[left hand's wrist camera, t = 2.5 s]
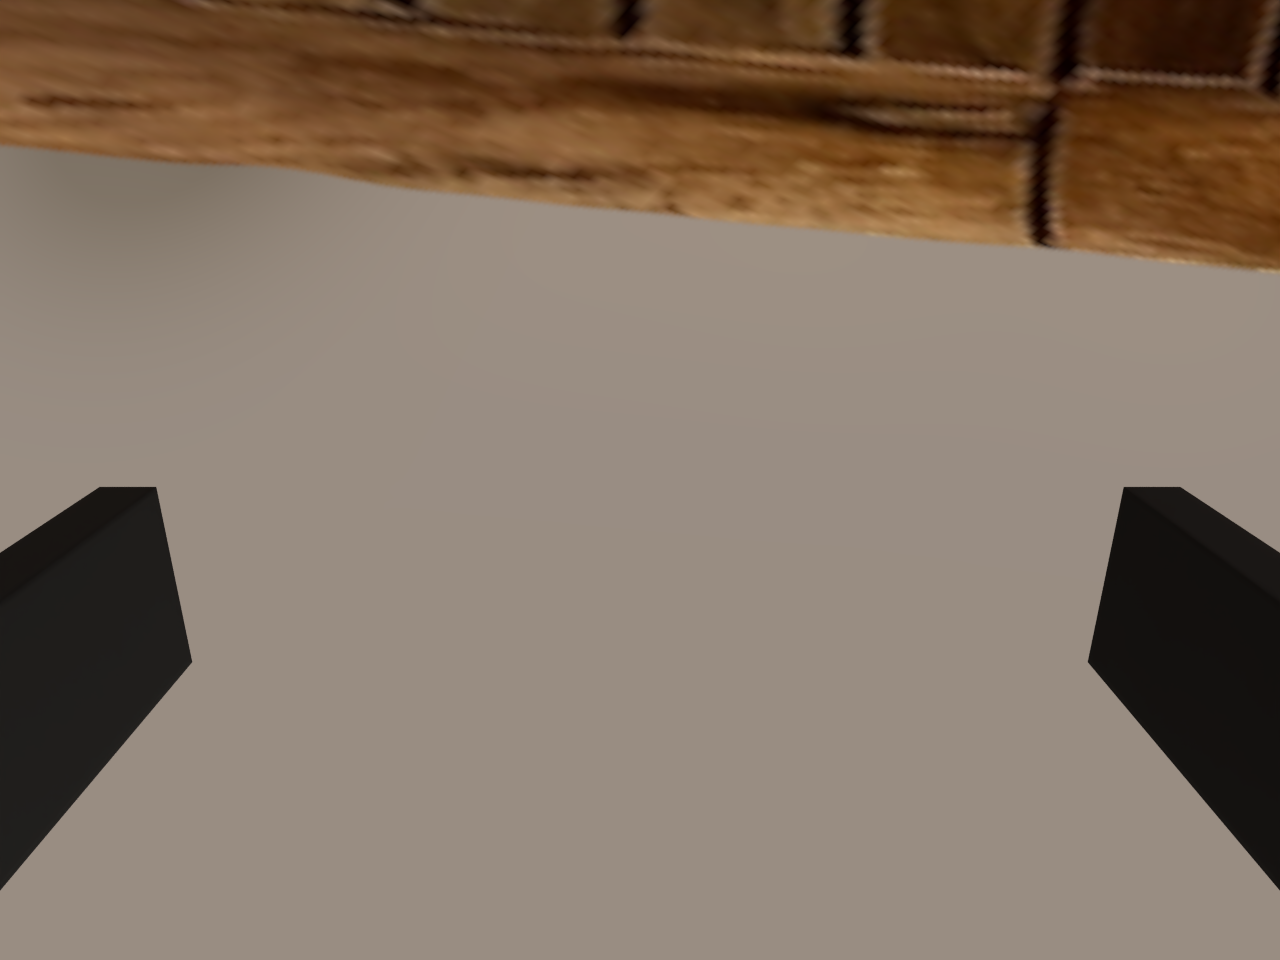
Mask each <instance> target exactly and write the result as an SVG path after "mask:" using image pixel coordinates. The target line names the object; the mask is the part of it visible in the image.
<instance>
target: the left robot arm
mask: <svg viewBox="0 0 1280 960" xmlns="http://www.w3.org/2000/svg"><path fill="white" fill-rule="evenodd" d="M191 663H192V659H191V654H190V649H189V644H188V639H187V635H186V630H185V625H184V620H183V615H182V610H181V605H180V601H179V596H178V591H177V586H176V581H175V576H174V571H173V567H172V562H171V557H170V552H169V547H168V542H167V537H166V532H165V528H164V523H163V518H162V513H161V508H160V503H159V499H158V494H157V489H156V487H99V488H97V489H96V490H94V491H93V492H91V493H90V494H88V495H87V496H85V497H84V498H82V499H81V500H79V501H78V502H76V503H75V504H73V505H72V506H70V507H69V508H67V509H66V510H64V511H63V512H61V513H60V514H58V515H57V516H55V517H54V518H52V519H51V520H49V521H48V522H46V523H45V524H43V525H42V526H40V527H39V528H37V529H36V530H34V531H32V532H31V533H29V534H28V535H26V536H25V537H24V538H22V539H20V540H19V541H17V542H16V543H14V544H13V545H11V546H10V547H8V548H7V549H5V550H4V551H2V552H1V553H0V890H1V889H2V888H3V886H4V885H5V884H6V883H7V882H8V880H9V879H10V878H11V877H12V876H13V874H14V873H15V872H16V871H17V870H18V869H19V867H20V866H21V865H22V864H23V863H24V861H25V860H26V859H27V858H28V857H29V855H30V854H31V853H32V852H33V851H34V849H35V848H36V847H37V846H38V845H39V844H40V842H41V841H42V840H43V839H44V838H45V836H46V835H47V834H48V833H49V832H50V830H51V829H52V828H53V827H54V826H55V825H56V823H57V822H58V821H59V820H60V819H61V817H62V816H63V815H64V814H65V813H66V811H67V810H68V809H69V808H70V807H71V805H72V804H73V803H74V802H75V801H76V800H77V798H78V797H79V796H80V795H81V794H82V792H83V791H84V790H85V789H86V788H87V787H88V785H89V784H90V783H91V782H92V781H93V779H94V778H95V777H96V776H97V775H98V773H99V772H100V771H101V770H102V769H103V767H104V766H105V765H106V764H107V763H108V762H109V760H110V759H111V758H112V757H113V756H114V754H115V753H116V752H117V751H118V750H119V748H120V747H121V746H122V745H123V744H124V743H125V741H126V740H127V739H128V738H129V737H130V735H131V734H132V733H133V732H134V731H135V729H136V728H137V727H138V726H139V725H140V723H141V722H142V721H143V720H144V719H145V717H146V716H147V715H148V714H149V713H150V712H151V710H152V709H153V708H154V707H155V706H156V704H157V703H158V702H159V701H160V700H161V699H162V697H163V696H164V695H165V694H166V693H167V691H168V690H169V689H170V688H171V687H172V685H173V684H174V683H175V682H176V681H177V680H178V678H179V677H180V676H181V675H182V674H183V672H184V671H185V670H186V669H187V668H188V666H189V665H190V664H191ZM1088 663H1089V664H1090V665H1091V666H1092V668H1093V669H1094V670H1095V671H1096V672H1097V674H1098V675H1099V676H1100V677H1101V678H1102V680H1103V681H1104V682H1105V683H1106V684H1107V685H1108V687H1109V688H1110V689H1111V690H1112V691H1113V693H1114V694H1115V695H1116V696H1117V697H1118V699H1119V700H1120V701H1121V702H1122V703H1123V704H1124V706H1125V707H1126V708H1127V709H1128V710H1129V712H1130V713H1131V714H1132V715H1133V716H1134V718H1135V719H1136V720H1137V721H1138V722H1139V723H1140V725H1141V726H1142V727H1143V728H1144V729H1145V731H1146V732H1147V733H1148V734H1149V735H1150V737H1151V738H1152V739H1153V740H1154V741H1155V742H1156V744H1157V745H1158V746H1159V747H1160V748H1161V750H1162V751H1163V752H1164V753H1165V754H1166V756H1167V757H1168V758H1169V759H1170V760H1171V762H1172V763H1173V764H1174V765H1175V766H1176V767H1177V769H1178V770H1179V771H1180V772H1181V773H1182V775H1183V776H1184V777H1185V778H1186V779H1187V781H1188V782H1189V783H1190V784H1191V785H1192V787H1193V788H1194V789H1195V790H1196V791H1197V792H1198V794H1199V795H1200V796H1201V797H1202V798H1203V800H1204V801H1205V802H1206V803H1207V804H1208V806H1209V807H1210V808H1211V809H1212V810H1213V811H1214V813H1215V814H1216V815H1217V816H1218V817H1219V819H1220V820H1221V821H1222V822H1223V823H1224V825H1225V826H1226V827H1227V828H1228V829H1229V830H1230V832H1231V833H1232V834H1233V835H1234V836H1235V838H1236V839H1237V840H1238V841H1239V842H1240V844H1241V845H1242V846H1243V847H1244V848H1245V850H1246V851H1247V852H1248V853H1249V854H1250V855H1251V857H1252V858H1253V859H1254V860H1255V861H1256V863H1257V864H1258V865H1259V866H1260V867H1261V869H1262V870H1263V871H1264V872H1265V873H1266V874H1267V876H1268V877H1269V878H1270V879H1271V880H1272V882H1273V883H1274V884H1275V885H1276V886H1277V888H1278V889H1279V890H1280V553H1279V552H1278V551H1276V550H1275V549H1273V548H1272V547H1270V546H1269V545H1267V544H1266V543H1264V542H1263V541H1261V540H1260V539H1258V538H1257V537H1255V536H1254V535H1252V534H1250V533H1249V532H1247V531H1246V530H1244V529H1243V528H1241V527H1240V526H1238V525H1237V524H1235V523H1234V522H1232V521H1231V520H1229V519H1228V518H1226V517H1225V516H1223V515H1222V514H1220V513H1219V512H1217V511H1216V510H1214V509H1213V508H1211V507H1210V506H1208V505H1207V504H1205V503H1204V502H1202V501H1201V500H1199V499H1198V498H1196V497H1195V496H1193V495H1192V494H1190V493H1188V492H1187V491H1185V490H1184V489H1182V488H1181V487H1124V489H1123V494H1122V498H1121V503H1120V508H1119V513H1118V518H1117V523H1116V528H1115V533H1114V537H1113V542H1112V547H1111V552H1110V557H1109V562H1108V567H1107V571H1106V576H1105V581H1104V586H1103V591H1102V596H1101V601H1100V606H1099V610H1098V615H1097V620H1096V625H1095V630H1094V635H1093V640H1092V644H1091V649H1090V654H1089V659H1088Z"/></svg>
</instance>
